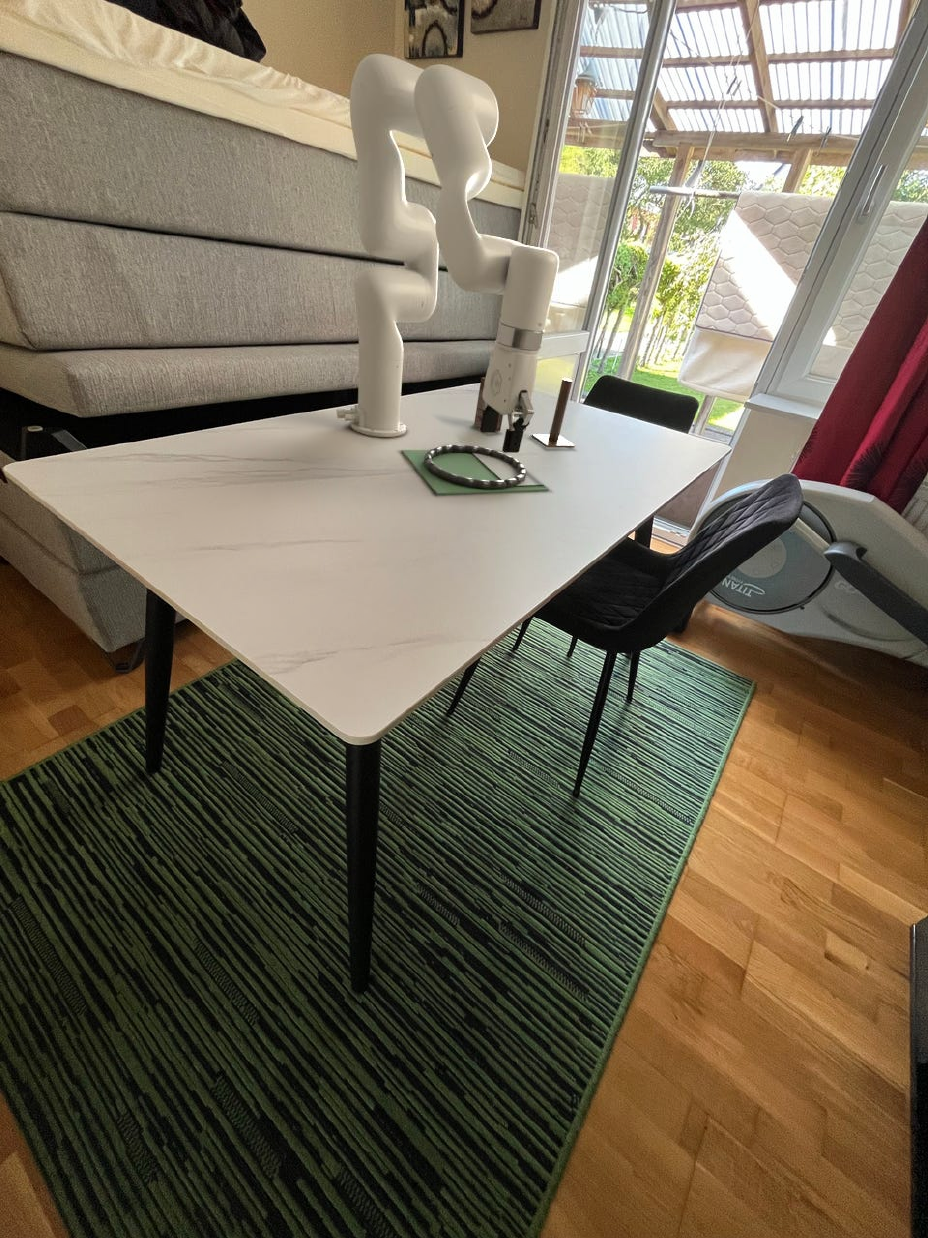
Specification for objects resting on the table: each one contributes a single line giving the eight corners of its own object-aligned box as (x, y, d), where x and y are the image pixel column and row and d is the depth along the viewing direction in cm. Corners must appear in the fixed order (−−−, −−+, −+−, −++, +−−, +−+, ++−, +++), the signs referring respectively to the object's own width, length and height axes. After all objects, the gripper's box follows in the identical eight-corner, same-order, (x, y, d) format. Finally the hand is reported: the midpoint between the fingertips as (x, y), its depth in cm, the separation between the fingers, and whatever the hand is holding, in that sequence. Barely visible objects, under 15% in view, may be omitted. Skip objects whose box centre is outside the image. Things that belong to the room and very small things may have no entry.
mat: (437, 495, 95) (437, 493, 94) (401, 451, 110) (401, 450, 110) (548, 490, 104) (548, 489, 104) (500, 451, 120) (501, 449, 119)
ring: (446, 492, 95) (447, 484, 94) (410, 451, 110) (410, 443, 109) (543, 488, 103) (545, 481, 102) (498, 450, 118) (499, 443, 118)
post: (546, 450, 125) (562, 383, 116) (530, 438, 131) (544, 374, 122) (573, 450, 128) (590, 385, 119) (557, 439, 134) (572, 376, 125)
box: (500, 433, 131) (509, 383, 124) (487, 435, 128) (496, 383, 121) (485, 426, 134) (493, 376, 127) (472, 427, 132) (479, 376, 125)
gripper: (477, 324, 89) (462, 424, 100) (523, 349, 77) (500, 460, 88) (515, 329, 92) (496, 425, 102) (565, 353, 80) (538, 460, 90)
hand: (498, 441), depth 95 cm, fingers open, 9 cm apart
